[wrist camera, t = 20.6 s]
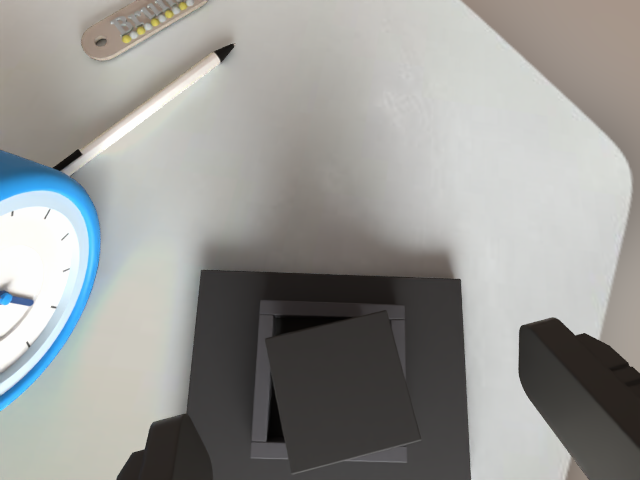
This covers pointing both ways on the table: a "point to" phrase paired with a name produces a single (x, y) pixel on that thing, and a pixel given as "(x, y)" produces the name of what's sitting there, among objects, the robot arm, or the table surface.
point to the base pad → (309, 311)
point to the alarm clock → (41, 267)
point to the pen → (142, 112)
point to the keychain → (134, 25)
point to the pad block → (340, 391)
